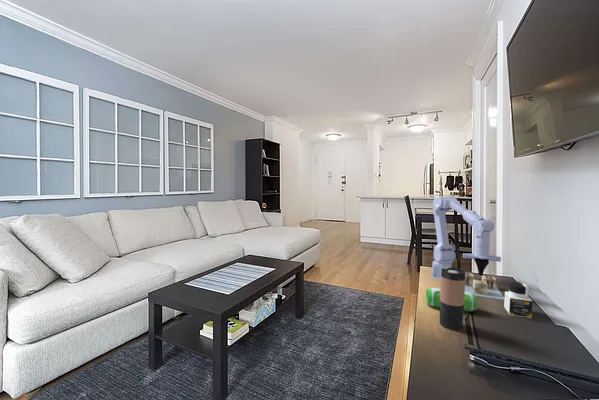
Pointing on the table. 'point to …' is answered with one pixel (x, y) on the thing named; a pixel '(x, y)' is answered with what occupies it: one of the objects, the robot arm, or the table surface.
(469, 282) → the one bar block
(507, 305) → the medicine bottle
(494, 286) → the two bar block
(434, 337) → the table surface
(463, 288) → the travel mug
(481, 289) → the plain block
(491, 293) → the mat
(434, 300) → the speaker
